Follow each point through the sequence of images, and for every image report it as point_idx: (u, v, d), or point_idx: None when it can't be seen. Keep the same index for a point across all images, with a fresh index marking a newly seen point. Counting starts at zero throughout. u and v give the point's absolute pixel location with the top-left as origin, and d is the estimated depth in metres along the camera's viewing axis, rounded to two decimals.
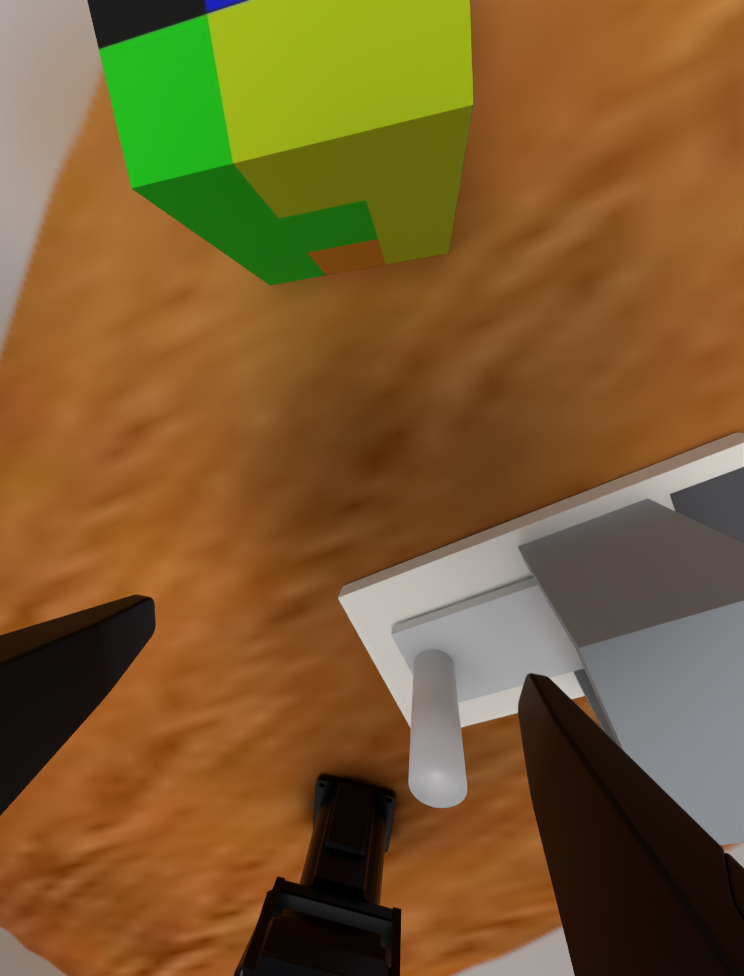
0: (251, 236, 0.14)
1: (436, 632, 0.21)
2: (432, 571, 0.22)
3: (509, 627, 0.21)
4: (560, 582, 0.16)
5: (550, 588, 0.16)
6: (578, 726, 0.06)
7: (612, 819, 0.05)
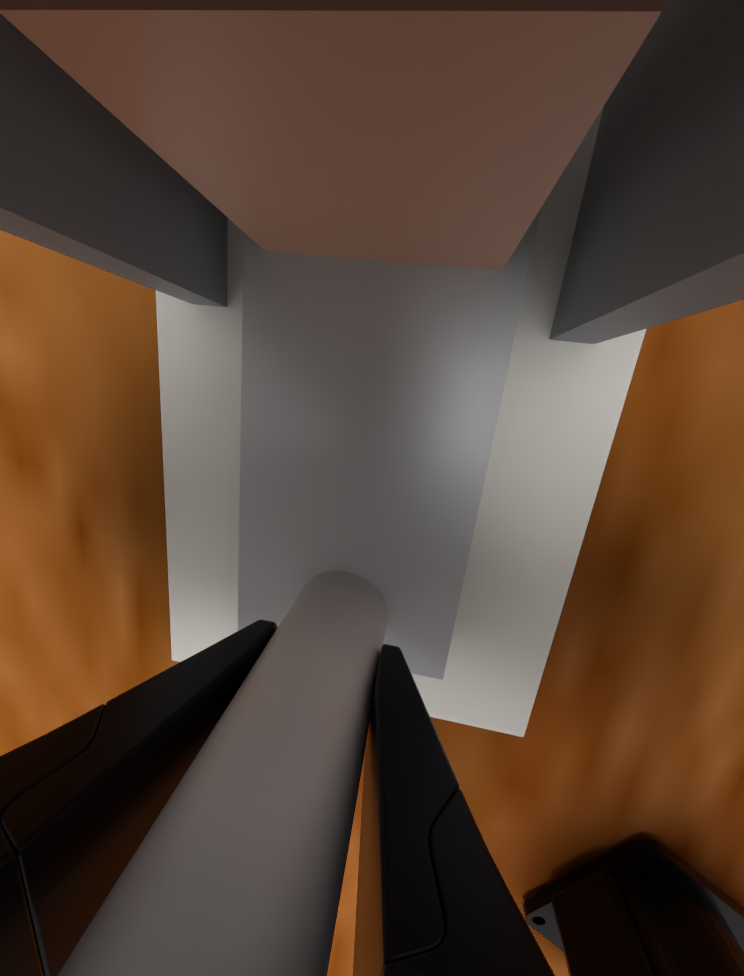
0: None
1: (267, 560, 0.10)
2: (182, 489, 0.11)
3: (320, 414, 0.08)
4: None
5: None
6: (395, 687, 0.06)
7: (376, 763, 0.05)
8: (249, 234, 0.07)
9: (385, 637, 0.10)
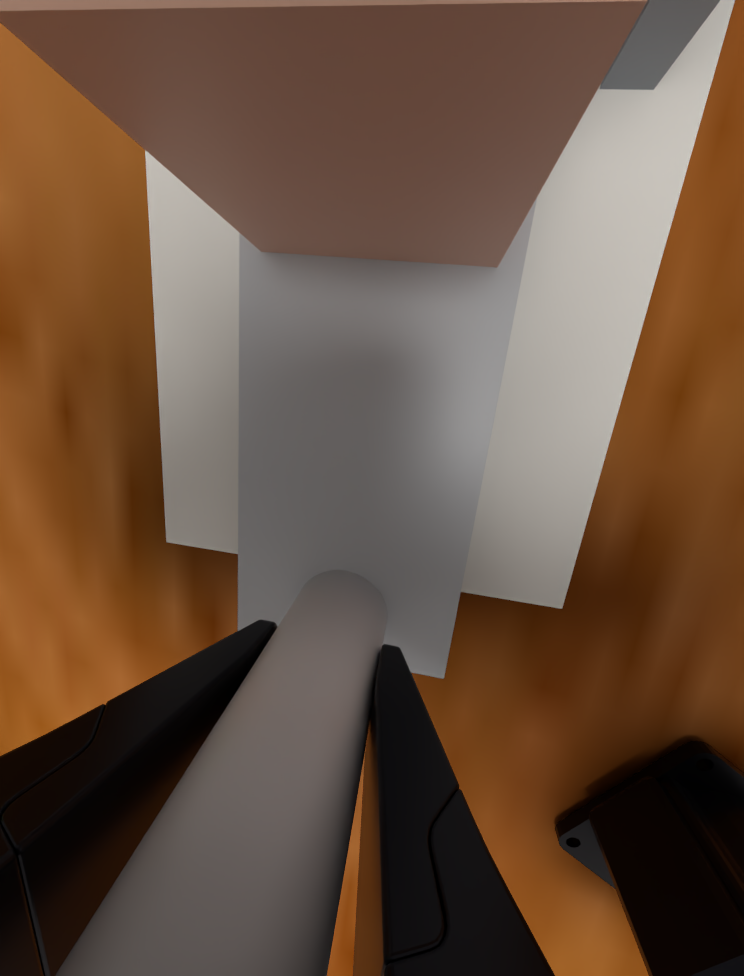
0: None
1: (266, 560, 0.10)
2: (174, 326, 0.09)
3: (318, 414, 0.08)
4: None
5: None
6: (395, 687, 0.06)
7: (376, 763, 0.05)
8: (244, 235, 0.07)
9: (385, 636, 0.10)
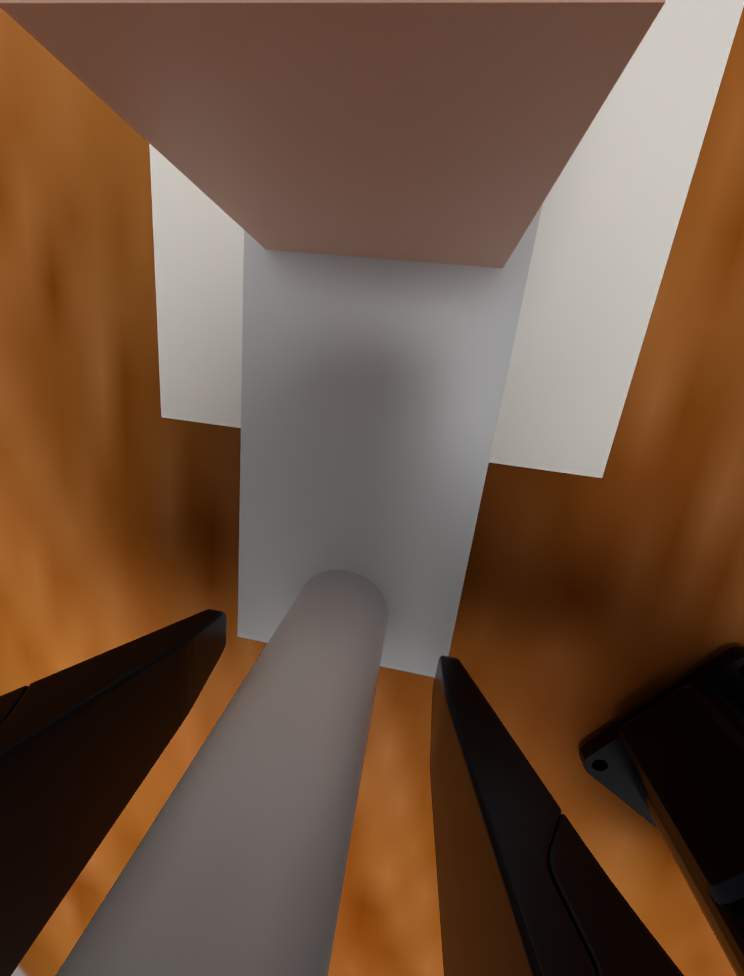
0: None
1: (267, 559, 0.10)
2: None
3: (321, 413, 0.08)
4: None
5: None
6: (467, 702, 0.06)
7: (468, 785, 0.05)
8: (249, 232, 0.07)
9: (386, 636, 0.10)
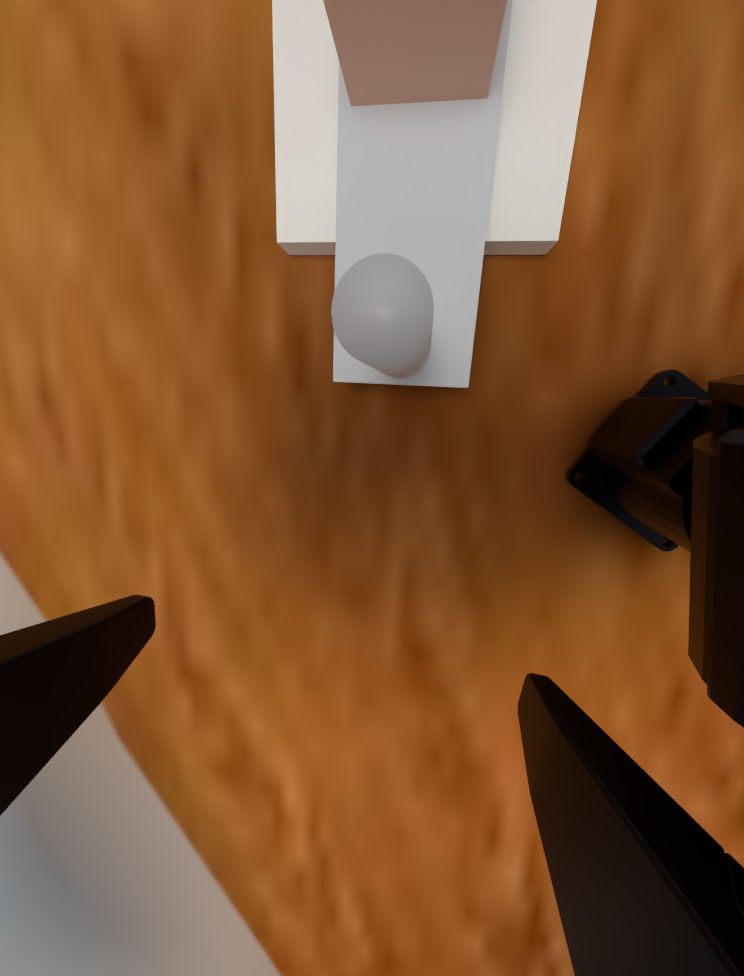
0: None
1: None
2: (287, 60, 0.14)
3: (385, 207, 0.14)
4: None
5: None
6: (578, 726, 0.06)
7: (612, 819, 0.05)
8: (347, 87, 0.13)
9: (430, 361, 0.15)
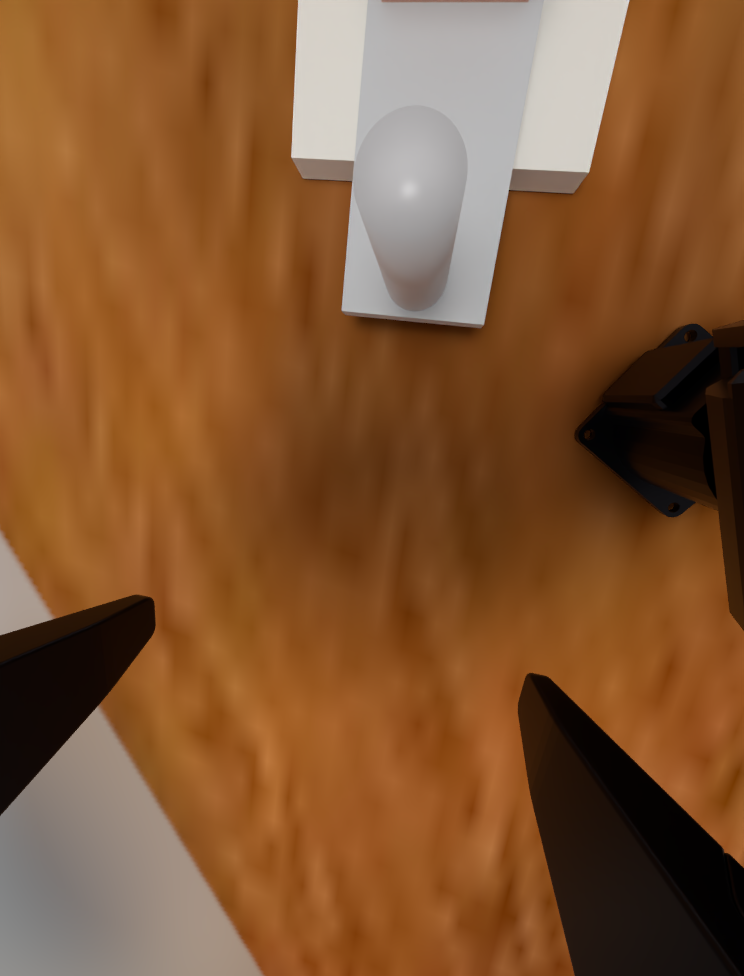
0: None
1: (367, 241, 0.14)
2: None
3: None
4: None
5: None
6: (578, 726, 0.06)
7: (612, 819, 0.05)
8: None
9: (445, 294, 0.14)
